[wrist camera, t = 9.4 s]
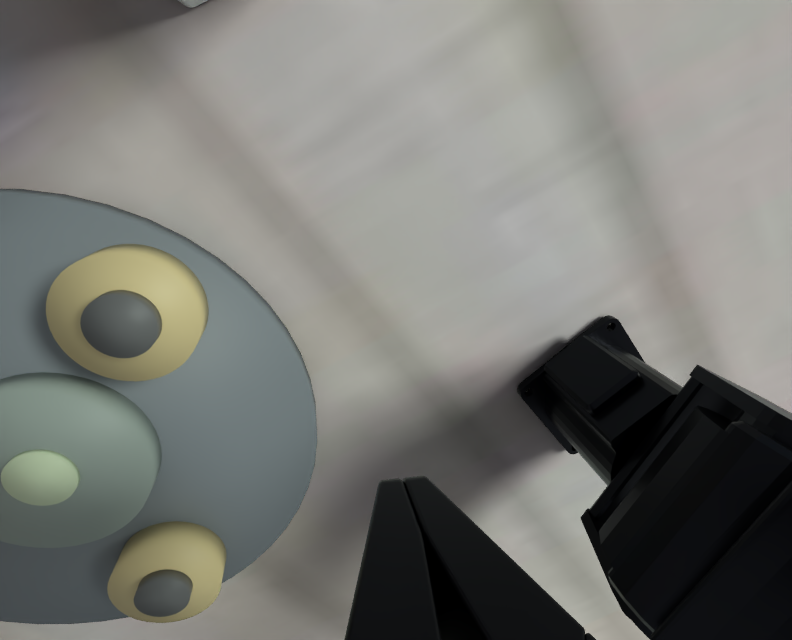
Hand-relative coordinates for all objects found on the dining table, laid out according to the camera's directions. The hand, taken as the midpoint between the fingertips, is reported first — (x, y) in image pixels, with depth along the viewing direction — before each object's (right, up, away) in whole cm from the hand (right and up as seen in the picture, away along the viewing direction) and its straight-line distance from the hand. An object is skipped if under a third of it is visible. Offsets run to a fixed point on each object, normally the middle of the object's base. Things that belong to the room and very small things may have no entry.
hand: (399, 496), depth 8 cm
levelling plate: (-15, -2, +12) cm, 19 cm away
